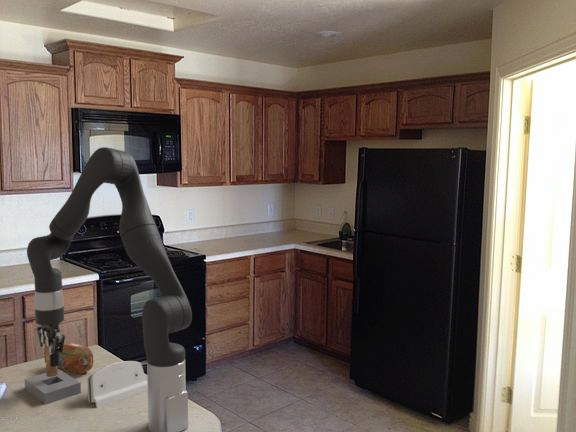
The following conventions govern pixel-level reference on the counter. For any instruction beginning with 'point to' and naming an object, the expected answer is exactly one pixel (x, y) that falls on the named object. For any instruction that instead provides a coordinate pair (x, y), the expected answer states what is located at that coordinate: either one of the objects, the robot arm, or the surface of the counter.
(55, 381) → the hole block
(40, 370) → the counter surface
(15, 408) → the counter surface
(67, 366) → the tin
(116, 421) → the counter surface
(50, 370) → the peg
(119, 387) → the hinge
